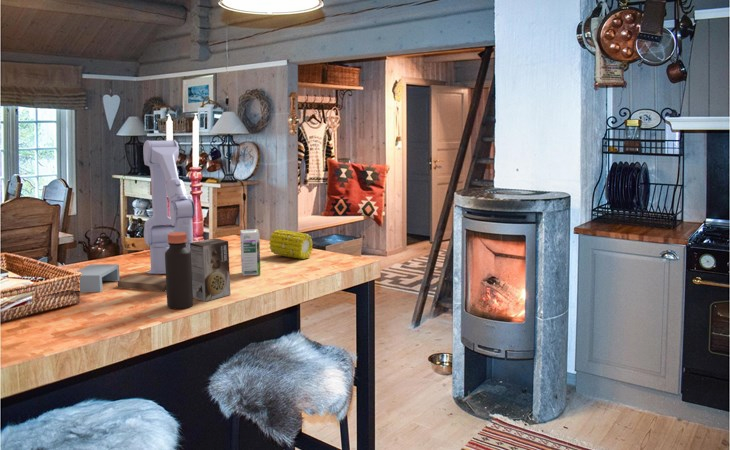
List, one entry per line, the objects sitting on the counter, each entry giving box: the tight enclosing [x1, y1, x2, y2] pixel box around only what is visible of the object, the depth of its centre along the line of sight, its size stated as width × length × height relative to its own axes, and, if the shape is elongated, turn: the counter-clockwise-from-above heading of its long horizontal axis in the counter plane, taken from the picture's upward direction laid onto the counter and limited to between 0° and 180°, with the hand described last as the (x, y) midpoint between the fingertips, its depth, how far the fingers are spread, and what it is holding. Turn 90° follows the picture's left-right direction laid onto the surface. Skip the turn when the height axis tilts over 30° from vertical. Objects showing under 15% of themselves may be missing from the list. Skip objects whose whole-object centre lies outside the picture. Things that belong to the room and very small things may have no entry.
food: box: [269, 229, 313, 260], centre depth 239 cm, size 15×12×10 cm
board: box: [116, 274, 167, 292], centre depth 198 cm, size 16×8×2 cm, turn 74°
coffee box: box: [190, 237, 231, 302], centre depth 186 cm, size 9×6×16 cm
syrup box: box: [240, 229, 261, 277], centre depth 213 cm, size 6×6×14 cm
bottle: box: [165, 232, 194, 310], centre depth 176 cm, size 7×7×20 cm
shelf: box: [76, 263, 121, 293], centre depth 198 cm, size 9×14×5 cm, turn 179°
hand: (185, 283), depth 197 cm, fingers closed
